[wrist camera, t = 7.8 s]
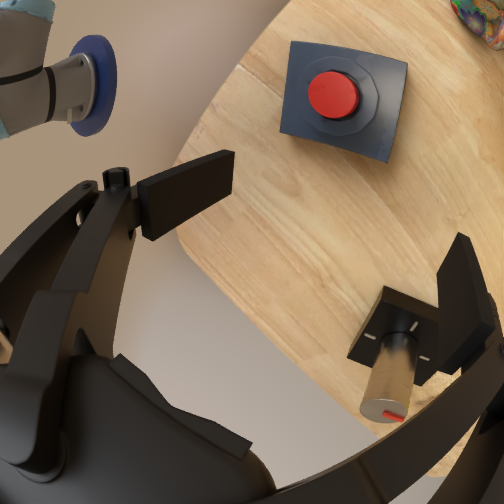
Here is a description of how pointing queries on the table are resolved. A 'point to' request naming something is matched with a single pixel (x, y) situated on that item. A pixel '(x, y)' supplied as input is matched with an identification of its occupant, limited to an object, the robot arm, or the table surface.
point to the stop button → (333, 95)
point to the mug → (483, 19)
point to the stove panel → (400, 331)
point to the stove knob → (391, 379)
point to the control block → (370, 98)
